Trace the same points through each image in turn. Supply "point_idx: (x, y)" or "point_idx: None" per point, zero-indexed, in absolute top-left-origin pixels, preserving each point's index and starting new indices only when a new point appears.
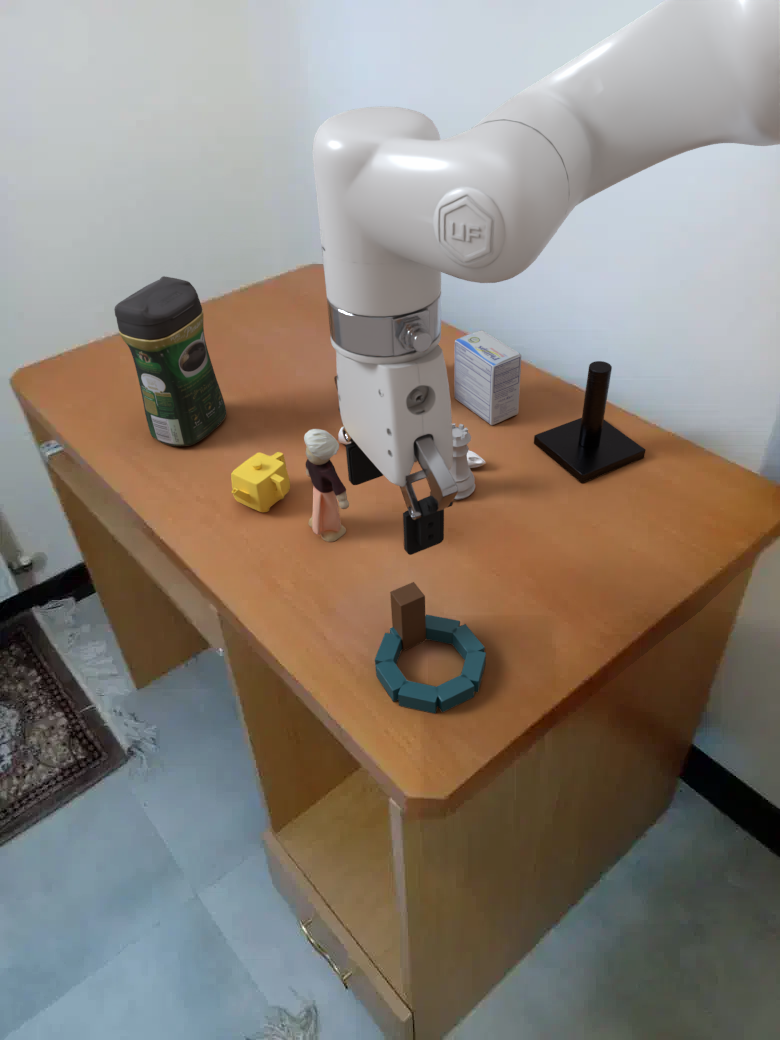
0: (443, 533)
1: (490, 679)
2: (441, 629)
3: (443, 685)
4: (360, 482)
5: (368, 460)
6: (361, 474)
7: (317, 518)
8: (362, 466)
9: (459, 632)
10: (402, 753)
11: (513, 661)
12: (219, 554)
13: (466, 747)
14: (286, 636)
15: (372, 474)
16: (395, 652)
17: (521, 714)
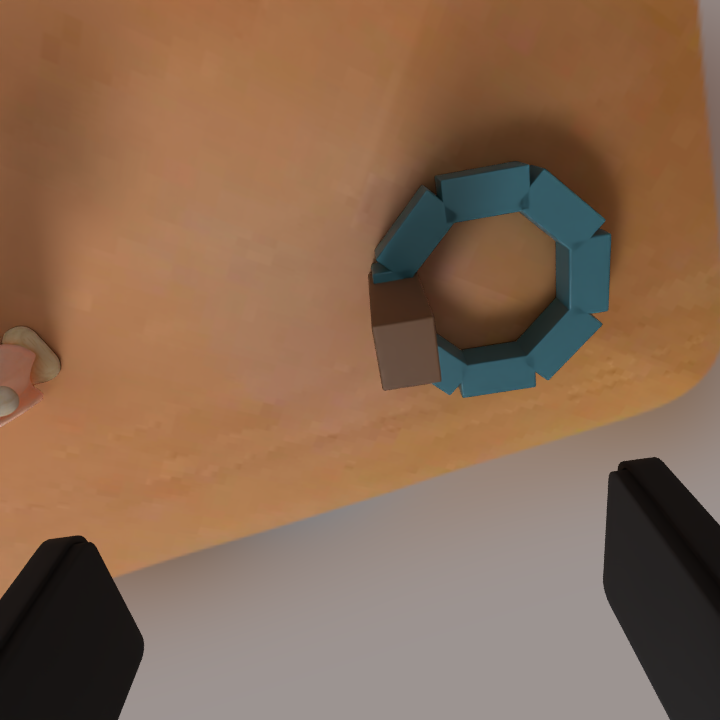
0: (680, 483)
1: (572, 171)
2: (433, 243)
3: (575, 295)
4: (133, 630)
5: (59, 710)
6: (113, 666)
7: (11, 419)
8: (86, 705)
9: (461, 206)
10: (625, 386)
11: (555, 93)
12: None
13: (681, 283)
14: (306, 490)
15: (101, 607)
16: (450, 355)
17: (685, 144)
